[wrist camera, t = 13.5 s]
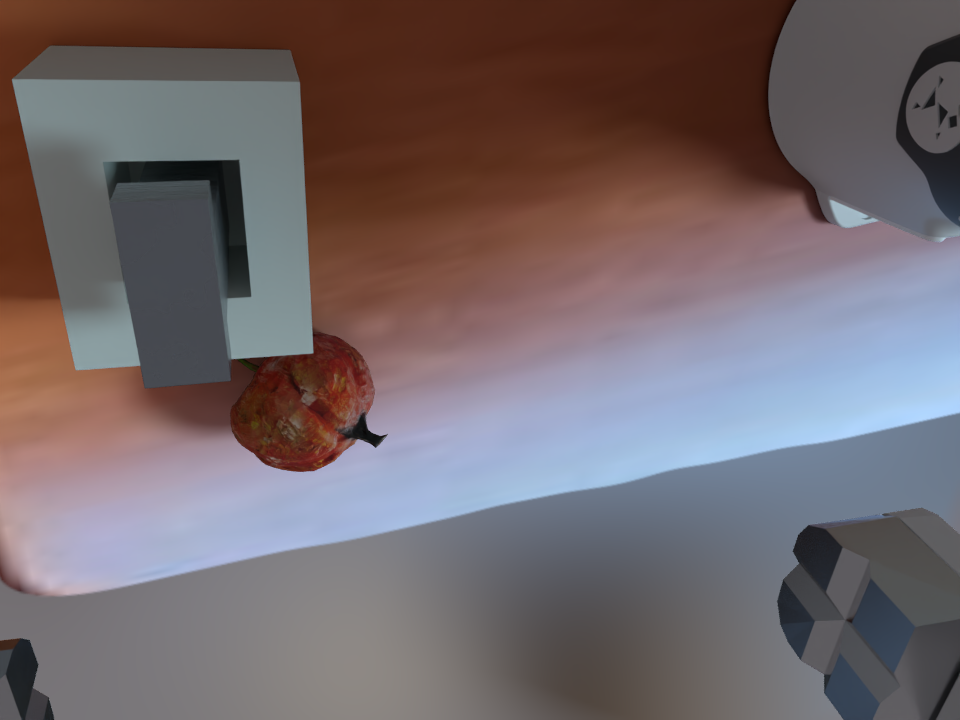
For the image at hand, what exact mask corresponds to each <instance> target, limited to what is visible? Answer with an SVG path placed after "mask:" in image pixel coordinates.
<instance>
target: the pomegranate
mask: <svg viewBox="0 0 960 720" xmlns="http://www.w3.org/2000/svg"><path fill="white" fill-rule="evenodd" d="M312 335H313V353H312V354H298V355H284V356H270V357H269V358H267V359H266V360H264V361H263V363H262V364H261V365H260V367H259V366H257V365H254V364H252V363H250V362H248V361H246V360H245V359H243V358H241V359H237V360H239V361H240V362H241V363H242V364H244V365H245V366H246V367H247V368H249V369H250V370H253V371H255V372H256V373H255V375H254V377H253V380H252V382H251V383H250V384H249V385H248V386H247V388H246V389H245V391H244V392H243V394H242V395H241V397H240V398H239V399H238V401H237V402H236V403H235V404H234V405H233V406H232V408H231V412H230V417H231V428H232V432H233V434H234V436H235V438H236V439H237V441H238V442H239V443H240V444H241V445H242V446H243V447H245V448H246V449H248V450H249V451H251V452H252V453H254V454H255V455H256V456H257V457H258V458H259V459H260V460H261V461H262V462H263V463H264V464H266V465H268V466H271V467H274V468H278V469H281V470H288V471H297V472H305V471H315V470H317V469H319V468H322V467H324V466H326V465H328V464H330V463H331V462H333V461H335V460H336V459H337V458H338V457H339V456H340V455H341V454H342V452H343V451H345V450H346V449H348V448H349V447H350V446H352V445H353V444H354V443H355V442H356V440H357V439H360V440H363V441H365V442H368V443H370V444H372V445H373V446H374V447H375V448H376V447H377V446H378V445H379V444H380V443H381V442H382V441H383V440H384V438H385V437H386V436H387V435H388V434H387V435H383V436H379V435H376V434H373V433H371V432H370V431H369V430H368V428H367V424H366V415H367V413H368V411H369V409H370V408H371V406H372V403H373V398H374V394H375V389H374V386H373V381H372V378H371V374H370V370H369V368H368V366H367V364H366V362H365V360H364V359H363V356H362V355H360V354H359V352H358V351H357V350H356V349H355V348H353V347H351V346H350V345H349V344H348V343H346V342H345V341H343V340H342V339H340V338H338V337H336V336H332V335H327V334H323V333H312Z"/></svg>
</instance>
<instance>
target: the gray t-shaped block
mask: <svg viewBox="0 0 960 720" xmlns="http://www.w3.org/2000/svg"><path fill="white" fill-rule="evenodd" d="M109 204H110V209H111V214H112V219H113V225H114V230H115V235H116V240H117V246H118V251H119V256H120V261H121V267H122V272H123V277H124V282H125V288H126V293H127V298H128V303H129V309H130V314H131V319H132V324H133V329H134V335H135V340H136V345H137V350H138V356H139V361H140V366H141V371H142V377H143V382H144V387H145V388H156V387H167V386H179V385H190V384H201V383H212V382H224V381H231V348H230V340H229V332H228V324H227V303H228V266H229V228H230V227H229V218H228V210H227V201H226V192H225V184H224V175H223V166H222V160H191V161H146V162H145V165H144V168H143V171H142V174H141V177H140V181H139V182H138V183H117V185H116V187H115V190H114V192H113V195H112V197H111V200H110V202H109Z"/></svg>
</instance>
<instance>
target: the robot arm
mask: <svg viewBox="0 0 960 720" xmlns="http://www.w3.org/2000/svg"><path fill="white" fill-rule="evenodd" d="M768 102H769V114H770V120H771V125H772V129H773V132H774V136H775V138H776V141H777V143H778V145H779V147H780V149H781V151H782V153H783V154H784V156H785V158H786V159H787V160H788V161H789V163H790V164H791V165H792V166H793V167H794V168H795V169H796V170H797V171H798V172H799V173H800V174H801V175H802V176H804V177H805V178H806V179H807V180H808V181H809V182H810V183H811V184H812V186H813V187H814V188H815V190H816V194H817V197H818V200H819V204H820V207H821V209H822V212H823V214H824V216H825V218H826V219H827V220H828V221H829V222H830V223H832V224H834V225H837V226H840V227H842V228H852V227H856V226H860V225H864V224H868V223H872V222H876V221H882V222H884V223H886V224H889V225H891V226H894V227H896V228H898V229H901V230H903V231H905V232H908V233H910V234H913V235H915V236H918V237H920V238H922V239H925V240H928V241H933V242H942V241H943V240H944V239H945V238H946V237H956V236H960V0H796V2H795V4H794V5H793V7H792V9H791V11H790V13H789V15H788V17H787V19H786V22H785V24H784V26H783V28H782V31H781V34H780V36H779V39H778V42H777V45H776V48H775V52H774V56H773V60H772V65H771V70H770V78H769V90H768ZM793 552H794V555H795V556H796V558H797V560H798V562H799V564H798V565H797V566H796V567H795V568H794V569H793V570H792V571H791V572H790V573H789V574H788V575H787V577H785V578H784V579H783V582H782V586H781V589H780V593H779V597H778V600H777V603H778V610H779V617H780V625H781V627H782V629H783V632H784V634H785V636H786V639H787V641H788V643H789V644H790V645H791V647H792V648H793V650H794V651H795V653H796V654H797V656H798V657H799V659H800V660H801V661H803V662H804V663H806V664H808V665H810V666H811V667H813V668H814V669H816V670H818V671H819V672H821V673H823V674H824V693H825V695H826V696H827V697H828V699H829V700H830V701H831V703H832V704H833V706H834V707H835V708H836V710H837V711H838V713H839V714H840V715H841V717H842V718H843V719H844V720H960V534H958V533H957V532H956V531H955V530H954V529H953V528H952V527H951V526H949V525H948V524H947V523H946V522H945V521H944V520H943V519H942V518H941V517H939V516H938V515H937V514H935V513H933V512H930V511H928V510H926V509H923V508H918V509H911V510H905V511H898V512H892V513H885V514H882V515H871V516H865V517H858V518H852V519H845V520H839V521H832V522H826V523H819V524H813V525H808V526H807V527H806V528H805V529H804V530H803V531H802V532H801V533H800V534H799V535H798V537H797V540H796V543H795V546H794V549H793ZM37 668H38V662H37V660H36V657H35V654H34V651H33V648H32V646H31V643H30V640H27V639H22V638H19V639H11V640H2V641H0V720H54V715H53V711H52V708H51V704H50V701H49V697H47V696H45V695H44V694H42V693H40V692H39V691H37V690H35V689H33V685H34V681H35V677H36V673H37Z"/></svg>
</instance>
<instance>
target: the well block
mask: <svg viewBox="0 0 960 720" xmlns="http://www.w3.org/2000/svg"><path fill="white" fill-rule="evenodd" d="M12 82H13V87H14V91H15V96H16V100H17V105H18V110H19V114H20V119H21V123H22V128H23V132H24V137H25V141H26V146H27V151H28V155H29V160H30V164H31V169H32V173H33V178H34V182H35V187H36V192H37V196H38V201H39V205H40V210H41V214H42V219H43V223H44V228H45V232H46V237H47V242H48V246H49V251H50V255H51V260H52V264H53V269H54V273H55V278H56V283H57V287H58V292H59V296H60V301H61V305H62V310H63V314H64V319H65V324H66V328H67V333H68V337H69V342H70V346H71V351H72V355H73V360H74V365H75V369H76V370H87V369H101V368H115V367H129V366H140V361H139V356H138V350H137V345H136V340H135V335H134V329H133V324H132V319H131V314H130V309H129V303H128V298H127V293H126V288H125V282H124V277H123V272H122V267H121V261H120V256H119V251H118V246H117V240H116V235H115V230H114V225H113V219H112V214H111V209H110V204H109V202H110V200H111V197H112V195H113V192H114V190H115V187H116V185H117V183H138V182H139V181H140V177H141V174H142V171H143V168H144V165H145V162H146V161H191V160H222V166H223V175H224V184H225V192H226V201H227V210H228V218H229V227H230V228H229V266H228V303H227V324H228V332H229V340H230V348H231V359H241V358H256V357H270V356H284V355H298V354H312V353H313V335H312V315H311V295H310V275H309V255H308V235H307V215H306V196H305V176H304V156H303V136H302V116H301V96H300V81H299V77H298V74H297V71H296V68H295V64H294V61H293V58H292V54H291V51H290V50H267V49H212V48H157V47H102V46H49V47H48V48H47V49H46V50H44V51H43V52H42V53H41V54H40V55H39V56H38V57H37V58H35V59H34V60H33V61H32V62H31V63H30V64H29V65H27V66H26V67H25V68H24V69H23V70H22V71H21V72H19V73H18V74H17V75H16V76H15V77H14V78H13V79H12Z"/></svg>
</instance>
